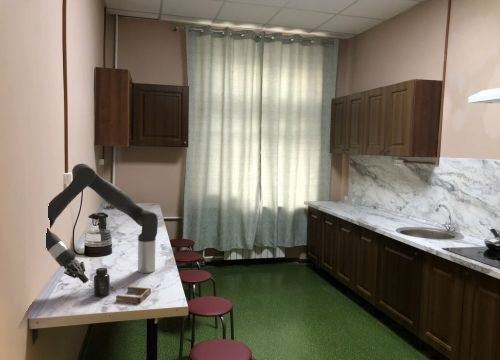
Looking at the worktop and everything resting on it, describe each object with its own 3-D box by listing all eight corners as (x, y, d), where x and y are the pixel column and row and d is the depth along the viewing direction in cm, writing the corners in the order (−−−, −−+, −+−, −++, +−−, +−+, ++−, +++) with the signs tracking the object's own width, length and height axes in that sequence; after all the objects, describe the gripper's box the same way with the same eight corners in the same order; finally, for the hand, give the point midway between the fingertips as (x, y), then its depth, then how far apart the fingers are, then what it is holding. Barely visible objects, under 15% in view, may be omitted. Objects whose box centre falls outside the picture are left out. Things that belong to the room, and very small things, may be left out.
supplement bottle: (111, 291, 180) (111, 266, 179) (106, 297, 173) (106, 271, 172) (96, 291, 179) (96, 266, 178) (91, 297, 173) (91, 271, 172)
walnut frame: (128, 291, 181) (128, 286, 181) (150, 293, 179) (150, 288, 179) (116, 301, 169) (116, 295, 169) (139, 303, 167) (140, 298, 167)
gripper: (58, 252, 170) (83, 281, 170) (75, 245, 183) (99, 272, 183) (47, 263, 171) (72, 292, 171) (65, 255, 184) (89, 282, 184)
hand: (86, 281), depth 177 cm, fingers closed
